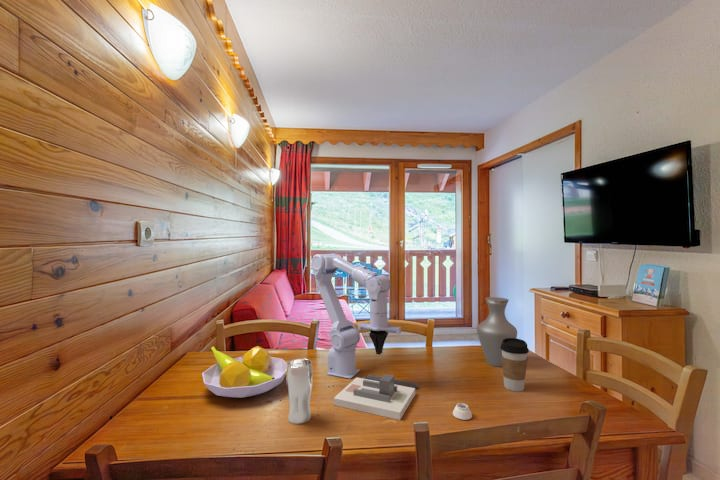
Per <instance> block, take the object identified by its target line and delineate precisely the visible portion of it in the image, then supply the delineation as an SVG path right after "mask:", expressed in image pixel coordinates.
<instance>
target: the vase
mask: <svg viewBox="0 0 720 480" xmlns="http://www.w3.org/2000/svg"><path fill="white" fill-rule="evenodd" d="M484 300H485V301H486V304H487V307H488V315H487V317H486V319H484V320H483V321H481V322H480V323H479V324H478V325H477V326H476V332H477V333H476V334H477V336H478V339H479V342H480V347H481V350H482V352H483V355H484V357H485V359H486V363H487V364H488V365H489V366H493V367H499V368H503V366H502V350H501V348H500V347H501V345H502V341H503V339H506V338H517V337H518V329H517V328H516V327H515V326H514V325H513V323H511V322H510V321H508V319H507V317H506V314H505V313H506V308H507V305H508V302H509V299H508V298H504V297H499V296H498V297H496V296H495V297H491V296H490V297H489V296H488V297H485V299H484ZM517 339H518V338H517Z"/></svg>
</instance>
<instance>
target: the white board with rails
mask: <svg viewBox="0 0 720 480" xmlns="http://www.w3.org/2000/svg"><path fill="white" fill-rule="evenodd" d="M382 377H383V376H379V375H372V374H368V375H367V376H363V377H362V378H361V377H355V378H354V379H353V380H352V381H351V382H349V384H347V385H346V386H345V387H344V388H343V389H342V390H341V391H340V392H339V393H338V394H337V395H335V396H334V397H333V405H334V406H337V407H341V408H346V409H350V410H354V411H357V412H358V411H360V412H363V413H367V414H371V415H376V416H381V417H384V418H388V419H389V418H390V419H393V420H399V421H401V419H402V417H403V415H404V414H405V413H406V410H407V409H408V408H409V406H410V404H411V403H412V401H413V399H414V397H415V396H416V389H418V388H419V384H418V383H417V382H413V381H407V380H401V379H396V378H394V393H393V395H392V396H391V397H390V396H388V395H383V394H379V380H380V379H381V378H382Z"/></svg>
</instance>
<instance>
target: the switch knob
mask: <svg viewBox="0 0 720 480" xmlns="http://www.w3.org/2000/svg"><path fill="white" fill-rule="evenodd" d="M381 377H382V378H381V379H380V380H379V394H383V395H388V396H390V397H391V396H392V395H393V393H394V379H395V375H393V374H388V373H384V374H383V375H382V376H381Z"/></svg>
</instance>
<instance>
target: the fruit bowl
mask: <svg viewBox="0 0 720 480" xmlns="http://www.w3.org/2000/svg"><path fill="white" fill-rule="evenodd" d="M210 349H211V351H212V352H213V356H214V358H215V360H216V362H217V363H215V364H213V365H212V366H210V367H209V368H208V369H206V370H205V371H203V372H202V373H201V375H202V379H203V384H204V385H205V387H206V388H207V389H208V390H209V391H210V392H212V393H213V394H214V395H215V396H220V397H224V398H238V399H239V398H241V399H242V398H247V397H253V396H254V397H255V396H260V395H262V394H264V393H267V392H268V391H270V390H272V389H274V388H275V387H277V386H278V385H280V384H282V382H283V381H284V379H285V378H286V377H285V376H286V375H287V363H288V362H286V361H285V360H284V359H283V358H280V357H276V356H275V357H273V356H271V355H270V352H269V350H267V349H265V348H263V347H261V346H259V345H257V346H254V347H252V348H251V349H250V350H248V351H247V352H245V353H244V354H243V356H238V357H236V358H235V357H234V358H233V357H232V356H229V355H228V354H226V353H224V352H221V351H219V350H217V349H216V348H215V346H211V347H210Z"/></svg>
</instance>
